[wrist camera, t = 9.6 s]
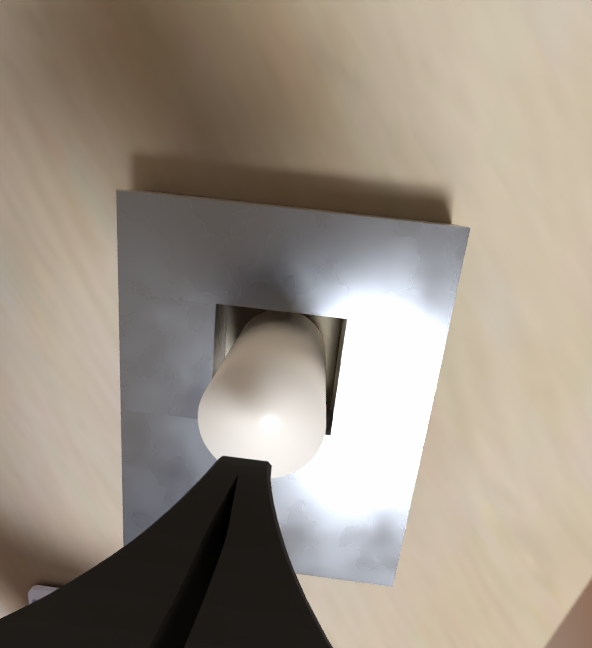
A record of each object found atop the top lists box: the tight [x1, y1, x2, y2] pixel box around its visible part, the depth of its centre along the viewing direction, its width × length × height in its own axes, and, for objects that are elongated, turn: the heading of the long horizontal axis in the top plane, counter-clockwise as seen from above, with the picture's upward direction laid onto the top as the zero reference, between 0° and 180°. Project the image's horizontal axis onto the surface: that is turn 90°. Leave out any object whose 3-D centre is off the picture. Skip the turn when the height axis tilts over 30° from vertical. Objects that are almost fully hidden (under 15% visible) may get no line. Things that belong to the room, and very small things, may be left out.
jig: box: [117, 190, 470, 587], centre depth 21 cm, size 18×14×2 cm
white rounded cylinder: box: [198, 310, 326, 478], centre depth 18 cm, size 4×4×7 cm
